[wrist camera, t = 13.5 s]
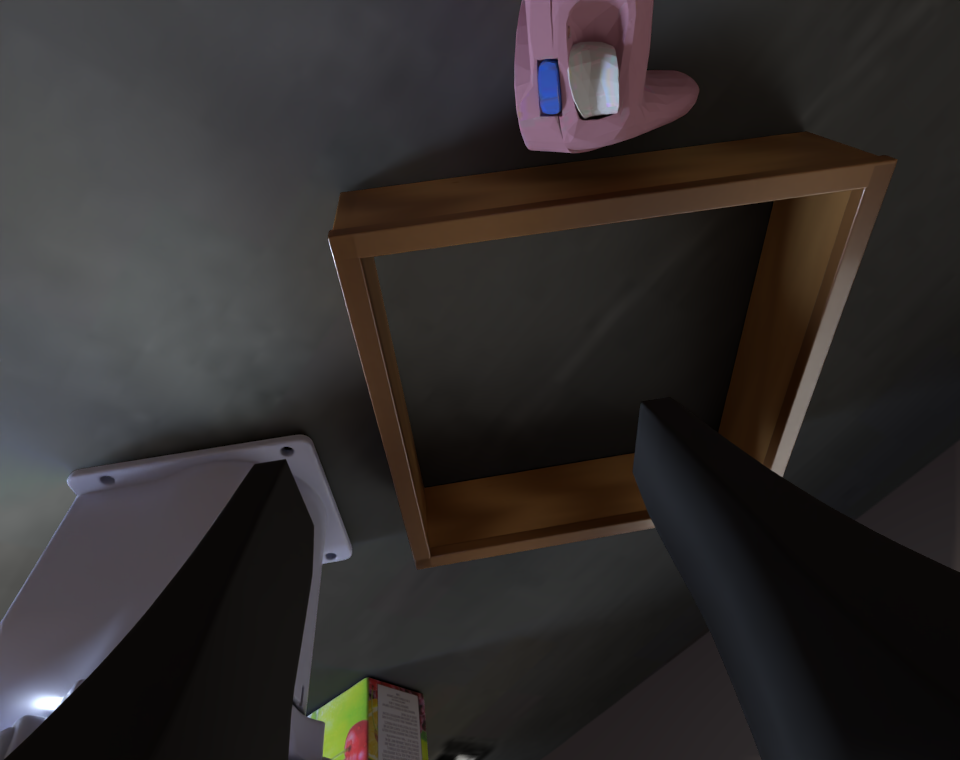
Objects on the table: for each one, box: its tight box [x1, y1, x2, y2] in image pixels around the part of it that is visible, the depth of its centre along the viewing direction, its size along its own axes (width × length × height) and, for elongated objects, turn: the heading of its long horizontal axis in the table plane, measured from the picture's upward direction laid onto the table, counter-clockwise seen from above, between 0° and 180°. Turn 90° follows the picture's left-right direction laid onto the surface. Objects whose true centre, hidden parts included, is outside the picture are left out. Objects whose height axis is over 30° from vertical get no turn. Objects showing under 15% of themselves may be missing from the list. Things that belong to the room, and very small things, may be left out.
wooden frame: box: [328, 131, 897, 570], centre depth 20 cm, size 15×14×4 cm
